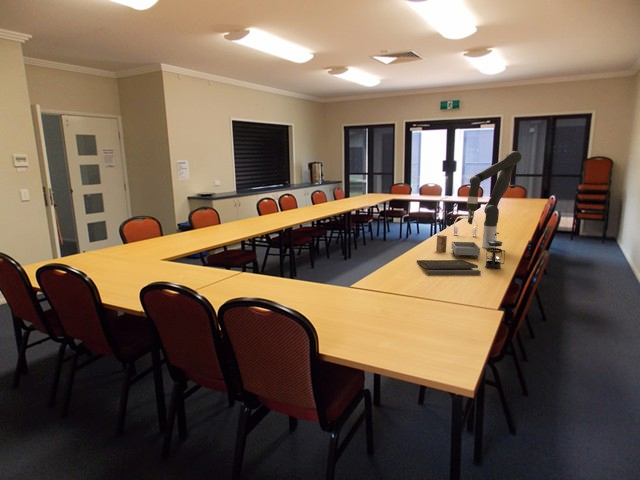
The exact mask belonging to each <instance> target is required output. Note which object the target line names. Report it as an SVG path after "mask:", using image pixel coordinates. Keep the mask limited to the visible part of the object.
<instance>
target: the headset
mask: <svg viewBox="0 0 640 480" xmlns="http://www.w3.org/2000/svg"><path fill="white" fill-rule="evenodd" d="M458 219H467V220H468V215H461V216H457V218H456V219H455V220H454V223H453V235H454V236H455V235H457V234H458V233H459V227H458V225H456V223H457V221H458ZM473 220H474V222H475V225H476V226H473V227H472V232H471V233H472V235H473V236H474V235H475V237H476V236H477V233H478V232H477V231H478V222H477V219H476V218H475V217H473Z"/></svg>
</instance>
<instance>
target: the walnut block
mask: <svg viewBox="0 0 640 480" xmlns="http://www.w3.org/2000/svg"><path fill="white" fill-rule="evenodd" d="M447 241H448V236H447V235H444V234H438V235H436V246H435V247H436V252H438V253H446V252H447Z"/></svg>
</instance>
